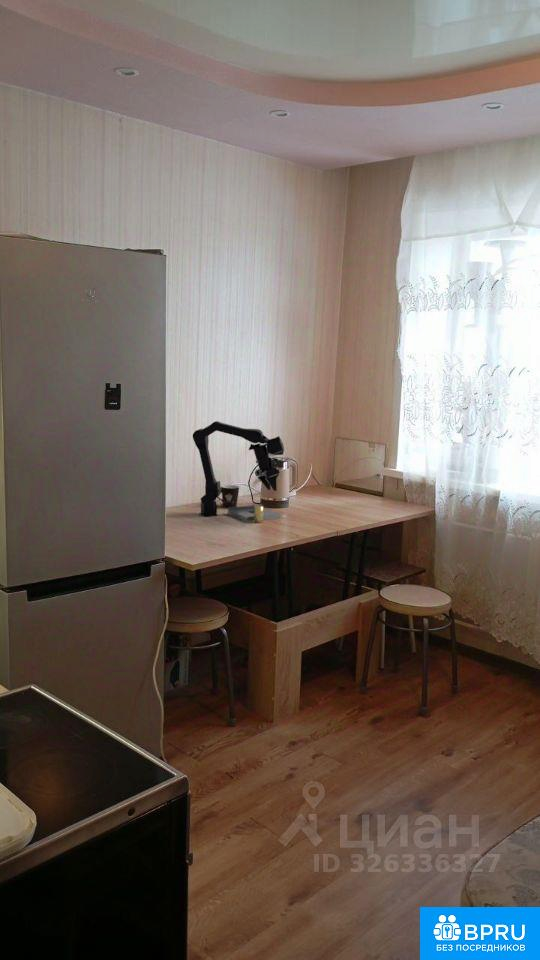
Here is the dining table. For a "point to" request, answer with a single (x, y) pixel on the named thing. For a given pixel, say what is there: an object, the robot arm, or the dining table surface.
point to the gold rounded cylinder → (258, 514)
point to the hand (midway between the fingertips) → (272, 490)
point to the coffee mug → (229, 495)
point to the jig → (250, 513)
